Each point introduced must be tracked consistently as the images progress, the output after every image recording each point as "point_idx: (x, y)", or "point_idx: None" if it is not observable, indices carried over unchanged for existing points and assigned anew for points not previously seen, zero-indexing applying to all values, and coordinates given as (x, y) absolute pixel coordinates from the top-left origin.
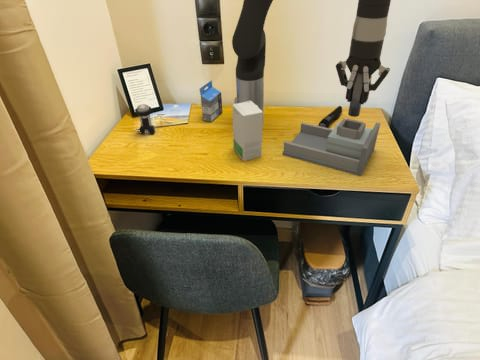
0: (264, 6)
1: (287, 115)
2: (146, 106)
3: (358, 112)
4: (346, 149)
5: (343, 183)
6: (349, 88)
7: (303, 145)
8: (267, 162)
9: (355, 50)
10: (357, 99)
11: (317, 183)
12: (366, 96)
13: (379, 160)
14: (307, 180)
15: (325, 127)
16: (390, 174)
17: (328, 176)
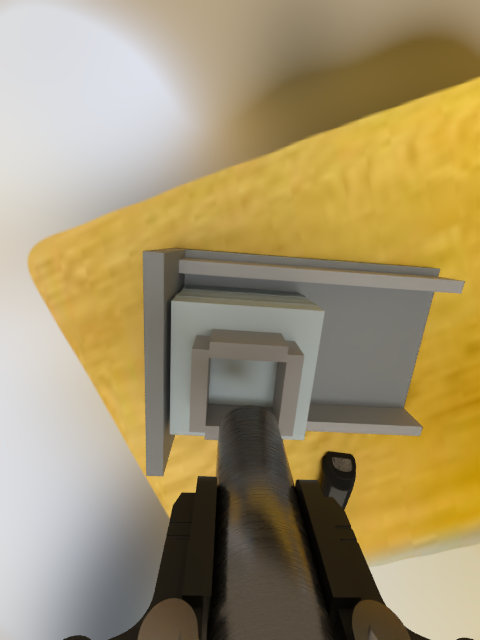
0: None
1: (454, 488)
2: None
3: (222, 433)
4: (236, 297)
5: (212, 184)
6: (365, 609)
7: (379, 334)
8: (473, 202)
9: None
10: (245, 499)
11: (290, 148)
12: (173, 548)
13: (143, 354)
14: (324, 151)
15: (331, 459)
16: (95, 294)
17: (265, 204)
